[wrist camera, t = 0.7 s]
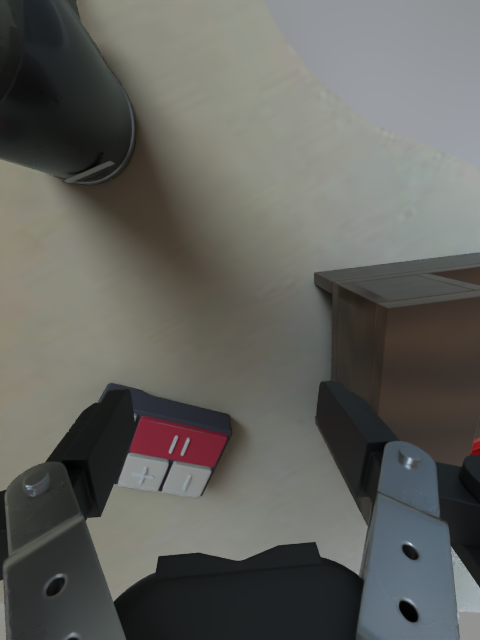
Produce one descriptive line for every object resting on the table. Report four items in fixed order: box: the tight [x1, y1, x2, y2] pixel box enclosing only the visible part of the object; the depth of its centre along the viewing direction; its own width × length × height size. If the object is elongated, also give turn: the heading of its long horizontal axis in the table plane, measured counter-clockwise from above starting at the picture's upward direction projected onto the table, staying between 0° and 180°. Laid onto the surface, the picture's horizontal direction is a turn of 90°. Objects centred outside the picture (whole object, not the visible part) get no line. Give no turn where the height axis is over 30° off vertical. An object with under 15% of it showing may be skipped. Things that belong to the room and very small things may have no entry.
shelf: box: [314, 253, 480, 526], centre depth 26 cm, size 20×20×13 cm
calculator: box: [98, 383, 232, 498], centre depth 32 cm, size 11×4×15 cm
